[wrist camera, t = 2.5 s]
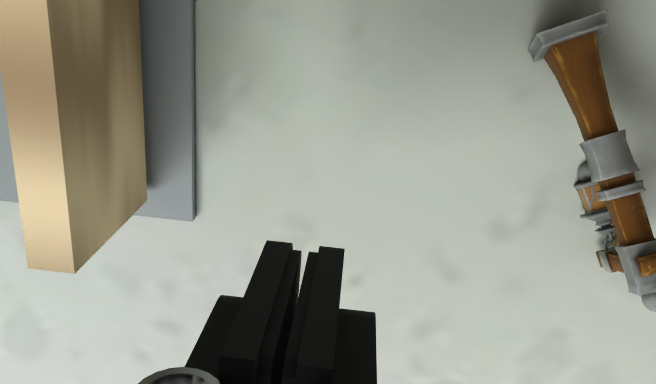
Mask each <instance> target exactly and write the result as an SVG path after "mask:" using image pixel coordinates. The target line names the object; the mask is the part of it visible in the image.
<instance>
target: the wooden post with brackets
mask: <svg viewBox="0 0 656 384" xmlns="http://www.w3.org/2000/svg"><path fill="white" fill-rule="evenodd" d="M605 14H606V10H604V11H602V12H599V13H596V14H593V15H590V16H587V17H584V18H581V19H578V20H575V21H572V22H569V23H566V24H564V25H561V26H558V27H555V28H552V29H549V30H546V31H543V32H540V33H537V35H536V37H535V38H534V40H533V42H532V44H531V46H530V48H529V49H528V51H529V52H530V53H531V56H532V58H533V62H536V61H539V60H542V59H545V60H546V62H547V64H548V65H549V67H550V68H551V70H552V72H553V73H554V75H555V76H556V78H557V80H558V83H559V85H560V87H561V89H562V91H563V93H564V95H565V97H566V99H567V101H568V103H569V105H570V107H571V109H572V111H573V113H574V115H575V117H576V120H577V122H578V125H579V128H580V130H581V133H582V136H583V139H584V141H585V142H583V143H581V144H580V146H581V148H582V150H583V151H584V153H585V156H586V160H587V163H585V164H582V165H581V166H580V167H579V169H578V177H579V179H580V180H581V181H583V183H580V184H576V185H574V187H575V188H576V190H577V192H578V194H579V196H580V199H581V201H582V204H583V206H584V209H585V214H583V215H580V217H581V218H585V219H590V220H593V221H596V222H597V223H596V225H598V226H601V227H602V228H598V229H597V230H595V232H598V233H601V234H604V235H605V236H606V239H605V241H604V248H605V250H601V251H597V252H596V254H597V257H598V260H599V263H600V266H601V267H603V269H604V268H605V271H608V272H611V273H612V272H616V271H619V272H623V273H625V276H626V279H627V282H628V290H629V292H631V293H634V294H636V295H639V296H640V295H641V298H642V302H643V304H644V306H645V307H646V308H647V309H649V310H651V311H653V312H656V238H654V236H653V233H652V230H651V227H650V224H649V221H648V217H647V214H646V211H645V208H644V205H643V202H642V199H641V195H640V192H641V191H645V190H646V189H645V188H644V186H643V180H641V181H636V180H635V176H634V173H633V172H635V171H639V168H638V167H637V165H636V163H635V162H634V160H633V157H632V155H631V152H630V149H629V146H628V143H627V141H626V134H625V130H621V131H618V128H617V125H616V122H615V119H614V116H613V113H612V110H611V107H610V103H609V98H608V94H607V90H606V85H605V81H604V76H603V72H602V67H601V63H600V59H599V52H598V44H597V37H598V36H599V34H600V33H601V32H602V31H603V30H604V29H605V28H606V27H607V26H608V25H609V24H608V22H607V21H606V16H605ZM612 223H613V225H610V224H612ZM615 231H616V236H615V237H612V233H614V232H615ZM613 239H614V240H615V247H612V248H609V249H608V248H607V241H609V242H611V241H612V240H613Z"/></svg>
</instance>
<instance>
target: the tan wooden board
mask: <svg viewBox="0 0 656 384" xmlns="http://www.w3.org/2000/svg"><path fill="white" fill-rule="evenodd" d="M0 70H1V77H2V84H3V91H4V99H5V106H6V113H7V120H8V127H9V135H10V142H11V149H12V156H13V163H14V170H15V178H16V185H17V192H18V199H19V206H20V213H21V221H22V228H23V235H24V242H25V249H26V257H27V264H28V268H30V269H39V270H47V271H56V272H65V273H74V274H75V273H76V272H77V271H78V270H79V269H80V268H81V267H82V266H83V265H84V264H85V263H86V262H87V261H88V260H89V259H90V258H91V257H92V256H93V255H94V254H95V253H96V252H97V251H98V250H99V249H100V248H101V247H102V246H103V245H104V244H105V243H106V242H107V241H108V239H109V238H110V237H111V236H112V235H113V234H114V233H115V232H116V231H117V230H118V229H119V228H120V227H121V226H122V225H123V224H124V223H125V222H126V221H127V220H128V219H129V218H130V217H131V216H132V215H133V214H134V213H135V212H136V211H137V210H138V209H139V208H140V207H141V206H142V205H143V204H144V203H145V202H146V201H147V182H146V159H145V136H144V112H143V89H142V66H141V43H140V19H139V0H0Z"/></svg>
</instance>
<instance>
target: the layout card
mask: <svg viewBox="0 0 656 384" xmlns="http://www.w3.org/2000/svg"><path fill="white" fill-rule="evenodd" d="M139 19H140V43H141V66H142V89H143V112H144V136H145V159H146V182H147V201H146V202H145V203H144V204H143V205H142V206H141V207H140V208H139V209H138V210H137V211H136V212H135V213H134V214H133V215H137V216H146V217H155V218H164V219H173V220H183V221H192V222H193V220H194V219H195V127H194V0H139ZM0 201H9V202H18V203H19V199H18V192H17V185H16V178H15V170H14V163H13V156H12V149H11V142H10V135H9V127H8V120H7V113H6V106H5V99H4V91H3V84H2V77H1V70H0Z"/></svg>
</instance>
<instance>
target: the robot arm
mask: <svg viewBox="0 0 656 384" xmlns="http://www.w3.org/2000/svg"><path fill="white" fill-rule="evenodd" d="M343 260H344V249H341V248H332V247H323V246H320V247H319V252H318V253H316V252H309V254H308V258H307V262H306V267H305V271H304V275H303V280H302V284H301V289H300V293H299V280H300V267H301V251H298V250H293V245H292V243H286V242H277V241H268V240H267V241H266V244H265V246H264V248H263V251H262V253H261V256H260V258H259V261H258V263H257V266H256V268H255V270H254V273H253V275H252V278H251V280H250V283H249V285H248V288H247V290H246V293H245V295H244V297H234V296H225V295H221V296H220V297H219V298H218V300H217V302H216V304H215V306H214V308H213V310H212V312H211V314H210V316H209V318H208V320H207V322H206V324H205V326H204V329H203V331H202V333H201V335H200V337H199V339H198V341H197V343H196V345H195V347H194V349H193V351H192V353H191V355H190V357H189V359H188V361H187V363H186V365H185V367H179V368H169V369H166V370H162V371H159V372H156V373H154V374H152V375H150V376H148V377H146V378H144V379H143V380H142V381H141V382H140V383H138V384H377V365H376V317H375V312H366V311H357V310H348V309H340V308H339V303H340V292H341V281H342V271H343ZM298 293H299V297H298Z"/></svg>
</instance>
